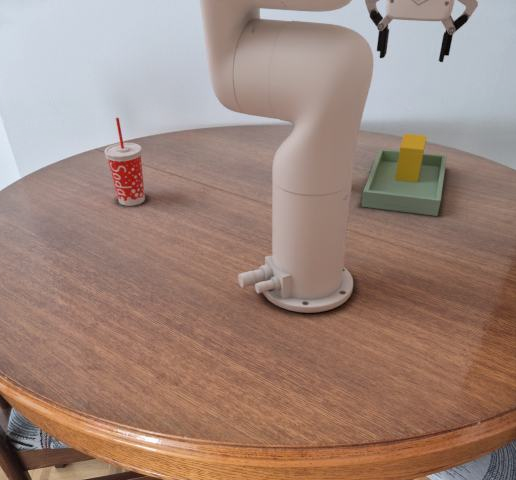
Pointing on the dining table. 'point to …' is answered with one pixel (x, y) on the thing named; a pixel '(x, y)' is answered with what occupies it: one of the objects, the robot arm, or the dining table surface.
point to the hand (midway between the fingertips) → (411, 58)
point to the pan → (405, 185)
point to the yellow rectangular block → (410, 157)
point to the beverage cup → (126, 170)
